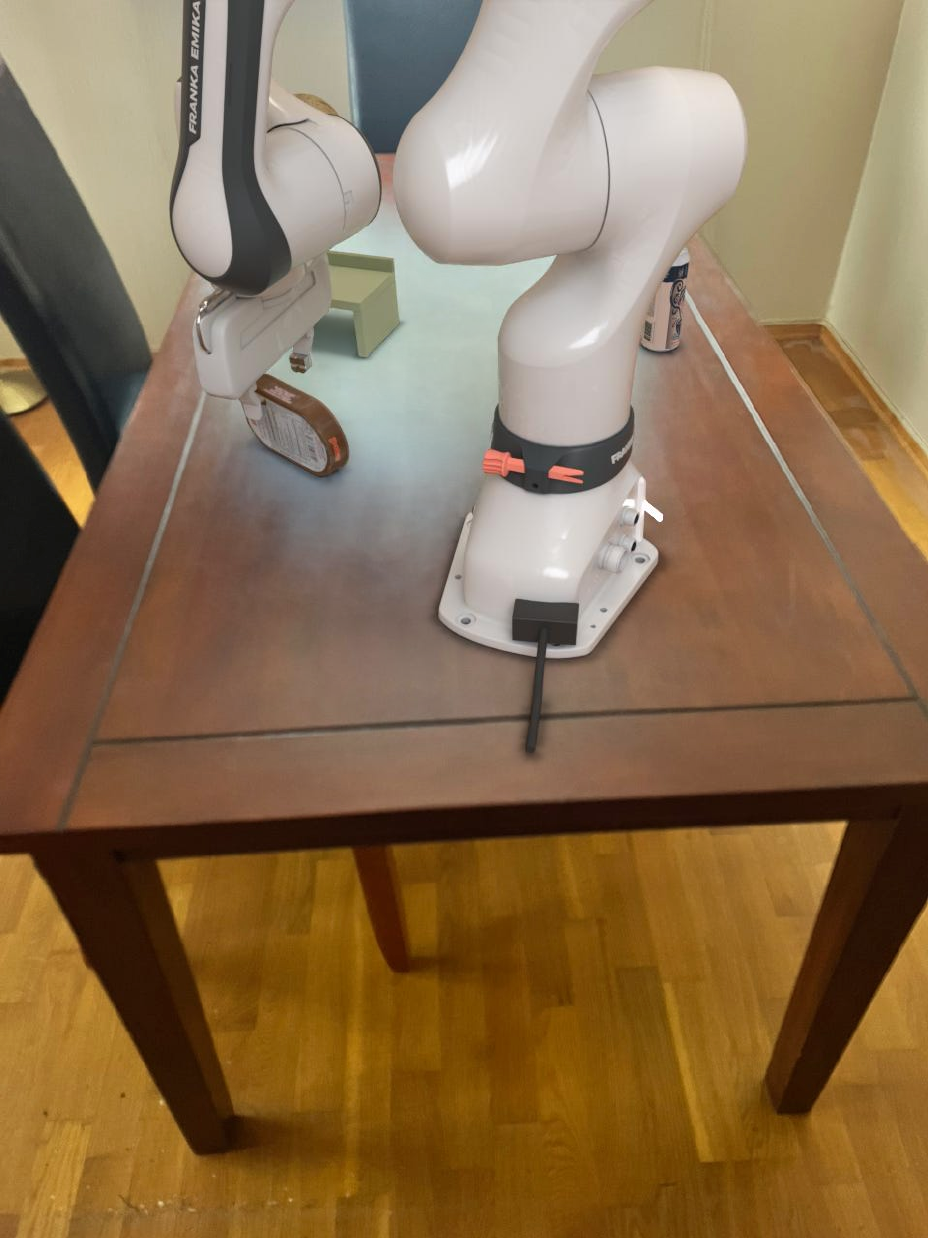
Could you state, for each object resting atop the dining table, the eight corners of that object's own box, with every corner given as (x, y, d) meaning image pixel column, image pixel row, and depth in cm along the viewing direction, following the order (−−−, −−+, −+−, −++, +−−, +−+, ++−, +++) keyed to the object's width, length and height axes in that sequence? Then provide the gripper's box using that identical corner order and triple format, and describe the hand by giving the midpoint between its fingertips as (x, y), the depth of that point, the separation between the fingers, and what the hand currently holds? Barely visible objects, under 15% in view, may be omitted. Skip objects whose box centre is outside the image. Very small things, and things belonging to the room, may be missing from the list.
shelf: (366, 357, 117) (358, 289, 111) (231, 336, 122) (216, 270, 116) (399, 323, 123) (393, 257, 117) (269, 304, 129) (257, 241, 123)
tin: (355, 477, 97) (345, 406, 91) (333, 491, 96) (321, 419, 90) (266, 429, 105) (252, 361, 99) (244, 441, 103) (228, 372, 98)
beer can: (678, 355, 114) (690, 258, 106) (639, 353, 115) (648, 256, 106) (679, 337, 117) (691, 241, 109) (641, 335, 118) (650, 240, 110)
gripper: (224, 314, 77) (255, 452, 87) (334, 221, 91) (351, 350, 101) (160, 304, 79) (198, 440, 89) (278, 214, 93) (300, 341, 102)
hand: (280, 391), depth 95 cm, fingers open, 8 cm apart
